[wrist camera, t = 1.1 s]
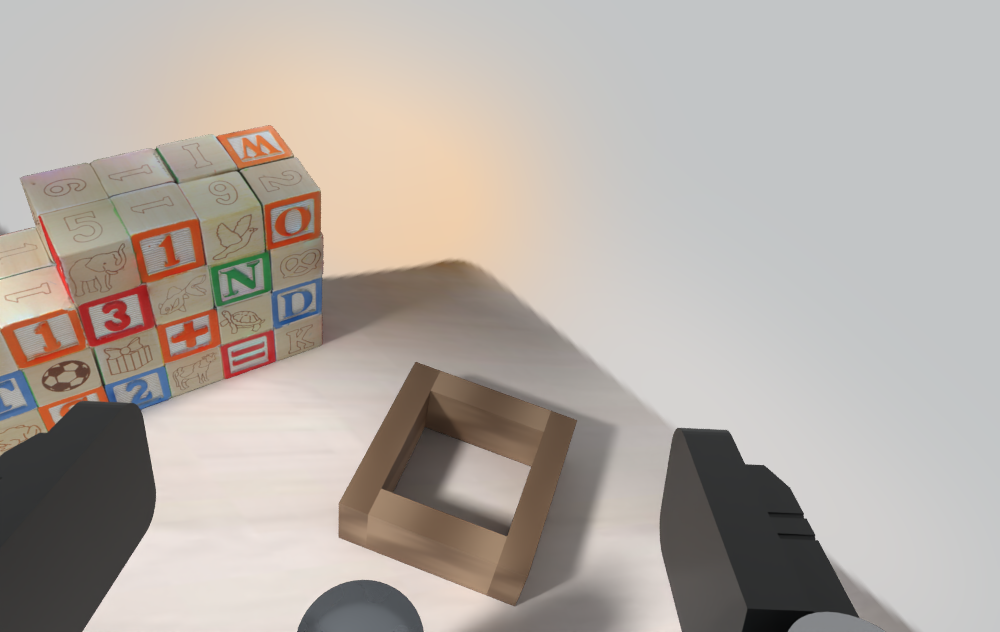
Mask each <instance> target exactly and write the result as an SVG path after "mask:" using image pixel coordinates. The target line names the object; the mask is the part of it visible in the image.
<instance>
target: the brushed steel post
mask: <svg viewBox="0 0 1000 632" xmlns="http://www.w3.org/2000/svg"><path fill="white" fill-rule="evenodd" d="M297 632H424V631H423V626H422V622H421V619H420V617H419V615H418V613H417V611H416V609H415V607H414V606H413V604H412V603H411V602H410V601H409V600H408V598H407V597H406V596H405V595H403V594H402V593H401V592H400V591H398V590H397V589H395V588H393V587H391V586H389V585H387V584H384V583H381V582H377V581H372V580H356V581H350V582H346V583H343V584H340V585H338V586H335V587H333V588H331V589H330V590H328V591H327V592H325V593H324V594H322V595H321V596H320V597H319V598H318V599H317V600H316V601H315V602H314V603H313V604H312V605H311V606H310V607H309V609H308V610H307V611H306V613H305V615H304V616H303V618H302V620H301V623H300V625H299V627H298V631H297Z"/></svg>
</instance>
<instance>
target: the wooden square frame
mask: <svg viewBox="0 0 1000 632" xmlns="http://www.w3.org/2000/svg"><path fill="white" fill-rule="evenodd" d="M576 422H577V420H575V419H572V418H569V417H567V416H564V415H561V414H558V413H556V412H553V411H550V410H547V409H545V408H542V407H539V406H536V405H534V404H531V403H528V402H525V401H523V400H520V399H517V398H514V397H511V396H509V395H506V394H503V393H500V392H498V391H495V390H492V389H489V388H487V387H484V386H481V385H478V384H476V383H473V382H470V381H467V380H465V379H462V378H459V377H456V376H453V375H451V374H448V373H445V372H442V371H440V370H437V369H434V368H431V367H429V366H426V365H423V364H420V363H418V362H415V364H414V366H413V367H412V369H411V371H410V373H409V375H408V377H407V379H406V380H405V382H404V384H403V386H402V388H401V390H400V391H399V393H398V395H397V397H396V399H395V401H394V403H393V404H392V406H391V408H390V410H389V412H388V414H387V415H386V417H385V419H384V421H383V423H382V425H381V427H380V428H379V430H378V432H377V434H376V436H375V438H374V439H373V441H372V443H371V445H370V447H369V449H368V451H367V452H366V454H365V456H364V458H363V460H362V462H361V463H360V465H359V467H358V469H357V471H356V473H355V475H354V476H353V478H352V480H351V482H350V484H349V486H348V487H347V489H346V491H345V493H344V495H343V497H342V499H341V500H340V502H339V538H342V539H344V540H347V541H349V542H352V543H354V544H357V545H359V546H362V547H365V548H367V549H370V550H372V551H375V552H377V553H380V554H382V555H385V556H388V557H390V558H393V559H395V560H398V561H400V562H403V563H405V564H408V565H411V566H413V567H416V568H418V569H421V570H423V571H426V572H428V573H431V574H434V575H436V576H439V577H441V578H444V579H446V580H449V581H451V582H454V583H457V584H459V585H462V586H464V587H467V588H469V589H472V590H474V591H477V592H480V593H482V594H485V595H487V596H490V597H492V598H495V599H497V600H500V601H503V602H505V603H508V604H510V605H513V606H515V605H516V603H517V600H518V598H519V596H520V593H521V591H522V589H523V587H524V584H525V582H526V580H527V577H528V575H529V571H530V568H531V565H532V562H533V559H534V555H535V552H536V549H537V546H538V543H539V540H540V536H541V533H542V530H543V527H544V524H545V521H546V517H547V514H548V511H549V508H550V505H551V502H552V498H553V495H554V492H555V489H556V486H557V482H558V479H559V476H560V473H561V470H562V467H563V463H564V460H565V457H566V454H567V451H568V448H569V444H570V441H571V438H572V435H573V432H574V429H575V425H576ZM425 427H426V428H429V429H432V430H434V431H437V432H440V433H443V434H445V435H448V436H451V437H453V438H456V439H459V440H461V441H464V442H467V443H469V444H472V445H475V446H478V447H480V448H483V449H486V450H488V451H491V452H494V453H496V454H499V455H502V456H505V457H507V458H510V459H513V460H515V461H518V462H521V463H523V464H526V465H529V466H532V467H531V469H530V472H529V475H528V478H527V481H526V484H525V487H524V489H523V492H522V495H521V498H520V501H519V504H518V507H517V509H516V512H515V515H514V518H513V521H512V524H511V527H510V529H509V532H508V535H507V536H504V535H502V534H499V533H496V532H494V531H491V530H489V529H486V528H483V527H481V526H478V525H475V524H473V523H470V522H468V521H465V520H462V519H460V518H457V517H455V516H452V515H449V514H447V513H444V512H441V511H439V510H436V509H434V508H431V507H428V506H426V505H423V504H420V503H418V502H415V501H413V500H410V499H407V498H405V497H402V496H400V495H397V494H394V493H393V492H394V490H395V487H396V485H397V483H398V481H399V479H400V477H401V475H402V473H403V471H404V469H405V467H406V465H407V463H408V461H409V459H410V457H411V455H412V453H413V451H414V449H415V447H416V445H417V443H418V440H419V438H420V436H421V434H422V432H423V430H424V428H425Z"/></svg>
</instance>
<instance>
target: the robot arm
mask: <svg viewBox="0 0 1000 632" xmlns="http://www.w3.org/2000/svg"><path fill="white" fill-rule="evenodd" d="M155 502H156V488H155V482H154V476H153V471H152V465H151V459H150V454H149V448H148V443H147V437H146V431H145V426H144V420H143V416H142V413H141V410H140V408H139V407H138V406H137V405H136V404H134V403H123V402H100V401H80V402H78V403H76V404H75V405H74V406H73V407H72V408H71V409H70V410H69V411H68V412H67V413H66V414H65V415H64V416H63V417H62V418H61V419H60V420H59V421H58V422H57V423H56V424H55V425H54V426H53V427H52V428H51V429H50V430H49V431H48V432H47V433H38V434H36V435H34V436H33V437H31V438H29V439H27V440H25V441H24V442H22V443H20V444H18V445H16V446H15V447H13V448H11V449H9V450H8V451H6V452H4V453H3V454H2V455H1V456H0V632H82V631H83V630H84V628H85V627H86V625H87V623H88V622H89V620H90V619H91V617H92V616H93V614H94V613H95V611H96V609H97V608H98V606H99V605H100V603H101V602H102V600H103V599H104V597H105V595H106V594H107V592H108V591H109V589H110V588H111V586H112V585H113V583H114V581H115V580H116V578H117V577H118V575H119V574H120V572H121V570H122V569H123V567H124V566H125V564H126V563H127V561H128V560H129V558H130V556H131V555H132V553H133V552H134V550H135V549H136V547H137V546H138V544H139V542H140V541H141V539H142V538H143V536H144V535H145V533H146V531H147V530H148V528H149V526H150V523H151V520H152V517H153V514H154V509H155ZM803 515H804V513H803V511H802V510H801V508H800V506H799V504H798V502H797V500H796V498H795V496H794V495H793V493H792V491H791V489H790V487H788V486H787V485H786V484H785V483H784V482H783V481H782V480H780V479H779V478H778V477H777V476H776V475H775V474H773V473H772V472H771V471H770V470H769V469H768V468H766V467H765V466H764V465H746V464H745V463H744V461H743V459H742V457H741V455H740V452H739V451H738V448H737V446H736V444H735V442H734V440H733V438H732V436H731V434H730V433H729V431H727V430H712V429H691V428H677V429H676V431H675V432H674V435H673V439H672V444H671V450H670V456H669V462H668V469H667V475H666V481H665V487H664V493H663V499H662V506H661V512H660V543H661V551H662V555H663V559H664V563H665V567H666V571H667V575H668V579H669V583H670V587H671V591H672V594H673V598H674V602H675V606H676V610H677V614H678V618H679V622H680V626H681V630H682V632H886V631H884V630H883V629H881V628H879V627H877V626H875V625H874V624H872V623H870V622H867V621H865V620H863V619H860V618H859V616H858V614H857V613H856V611H855V609H854V607H853V605H852V603H851V601H850V599H849V598H848V596H847V594H846V592H845V590H844V588H843V586H842V584H841V583H840V581H839V579H838V577H837V575H836V573H835V571H834V569H833V568H832V566H831V564H830V562H829V560H828V558H827V556H826V554H825V553H824V551H823V549H822V547H821V545H820V543H819V541H818V540H815V534H814V532H813V530H812V528H811V526H810V524H809V523H808V521H807V519H804V516H803Z"/></svg>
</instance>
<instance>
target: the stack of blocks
mask: <svg viewBox="0 0 1000 632" xmlns="http://www.w3.org/2000/svg"><path fill="white" fill-rule="evenodd" d="M20 180H21V183H22V186H23V189H24V192H25V195H26V198H27V200H28V203H29V206H30V209H31V212H32V216H33V219H34V222H35V225H36V227H33V228H28V229H25V230H20V231H16V232H12V233H8V234H4V235H0V456H1V455H2V454H3V453H4V452H6V451H8V450H9V449H11V448H13V447H15V446H16V445H18V444H20V443H22V442H24V441H25V440H27V439H29V438H31V437H33V436H34V435H36V434H38V433H47V432H48V431H49V430H50V429H51V428H52V427H53V426H54V425H55V424H56V423H57V422H58V421H59V420H60V419H61V418H62V417H63V416H64V415H65V414H66V413H67V412H68V411H69V410H70V409H71V408H72V407H73V406H74V405H75V404H76V403H78V402H80V401H100V402H123V403H134V404H136V405H137V406H138V407H139V408H140V409H143V408H146V407H148V406H151V405H154V404H157V403H159V402H162V401H165V400H168V399H169V398H171V397H175V396H178V395H181V394H184V393H186V392H189V391H192V390H195V389H198V388H200V387H203V386H206V385H209V384H211V383H214V382H217V381H220V380H222V379H228V378H231V377H234V376H237V375H240V374H242V373H245V372H248V371H250V370H253V369H256V368H259V367H262V366H264V365H267V364H270V363H273V362H275V361H279V360H282V359H285V358H288V357H291V356H293V355H296V354H299V353H302V352H305V351H307V350H310V349H313V348H316V347H318V346H321V345H322V312H321V310H322V274H323V264H324V263H323V246H324V245H323V235H322V233H321V231H320V230H321V191H320V189H319V187H318V186H317V185H316V183H315V182H314V181H313V179H312V178H311V177H310V175H309V174H308V172H307V171H306V170H305V168H304V167H303V166H302V164H301V163H300V161H299V160H298V158H296V157H295V158H294V155H293V153H292V151H291V150H290V148H289V147H288V146H287V145H286V143H285V142H284V140H283V139H282V138H281V137H280V135H279V134H278V133H277V132H276V130H275V129H274V128H273V127H272V126H271V125H268V126H263V127H258V128H253V129H248V130H244V131H238V132H233V133H229V134H223V135H219V136H217V137H215V136H214V135H212V134H211V135H205V136H200V137H195V138H190V139H186V140H181V141H177V142H171V143H167V144H163V145H159V146H157V147H156V149H151V148H148V149H143V150H138V151H134V152H130V153H125V154H120V155H116V156H112V157H108V158H102V159H97V160H94V161H93V162H91V163H90V164H88V163H82V164H78V165H73V166H68V167H64V168H59V169H55V170H50V171H46V172H41V173H37V174H32V175H27V176H23V177H21V178H20Z"/></svg>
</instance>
